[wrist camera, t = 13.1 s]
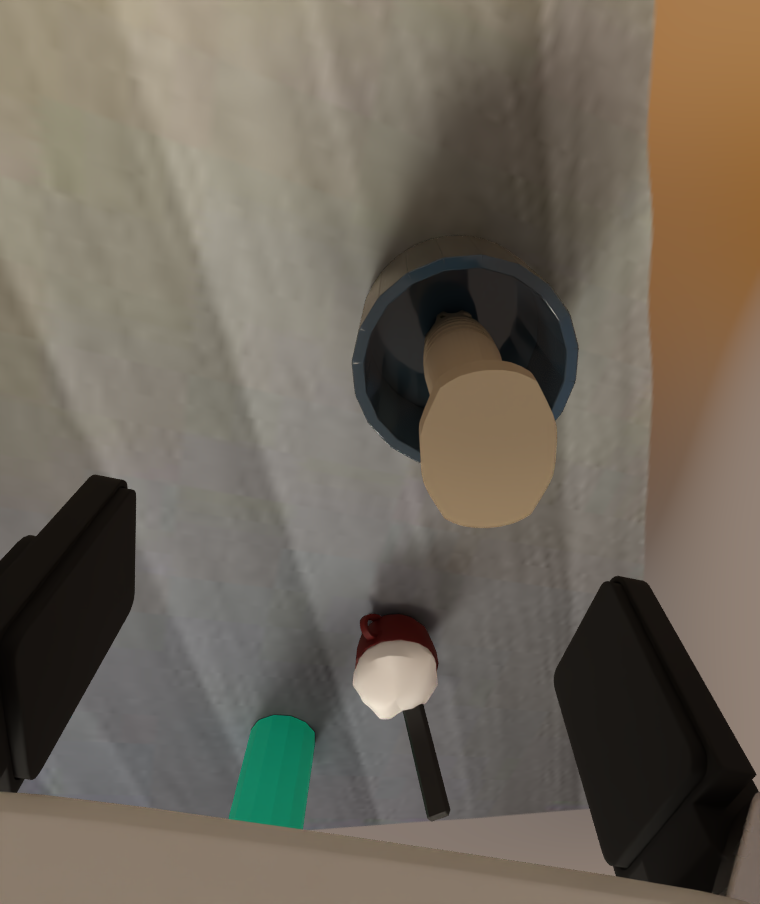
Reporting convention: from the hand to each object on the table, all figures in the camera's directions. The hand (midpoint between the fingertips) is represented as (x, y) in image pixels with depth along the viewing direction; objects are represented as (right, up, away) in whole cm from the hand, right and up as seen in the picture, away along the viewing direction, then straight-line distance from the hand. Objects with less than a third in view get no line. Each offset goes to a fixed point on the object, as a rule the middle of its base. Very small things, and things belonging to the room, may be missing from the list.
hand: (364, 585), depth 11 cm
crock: (+5, +10, +23) cm, 25 cm away
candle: (-9, -23, +41) cm, 48 cm away
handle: (+5, +10, +23) cm, 25 cm away
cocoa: (+2, -12, +35) cm, 37 cm away
